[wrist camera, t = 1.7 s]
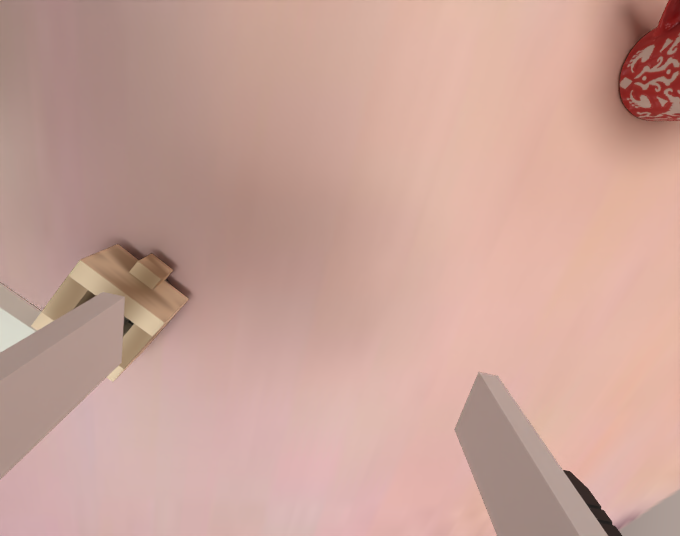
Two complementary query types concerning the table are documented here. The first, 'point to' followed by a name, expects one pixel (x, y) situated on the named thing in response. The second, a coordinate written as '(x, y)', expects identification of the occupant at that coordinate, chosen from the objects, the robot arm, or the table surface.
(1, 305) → the tray
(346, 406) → the table surface
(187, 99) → the table surface
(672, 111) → the mug
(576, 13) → the table surface
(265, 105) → the table surface
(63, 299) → the tan wooden frame
